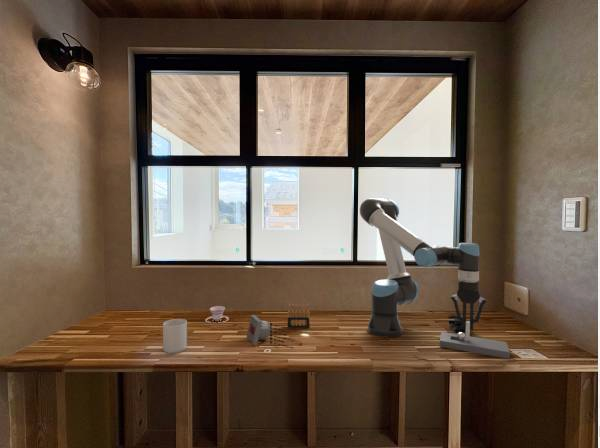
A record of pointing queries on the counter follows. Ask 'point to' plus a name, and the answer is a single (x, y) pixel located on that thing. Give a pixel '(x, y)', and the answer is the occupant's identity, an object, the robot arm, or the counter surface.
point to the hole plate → (475, 345)
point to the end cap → (456, 324)
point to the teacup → (217, 314)
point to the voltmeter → (262, 331)
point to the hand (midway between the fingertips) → (467, 337)
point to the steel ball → (461, 336)
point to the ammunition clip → (294, 317)
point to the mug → (174, 336)
